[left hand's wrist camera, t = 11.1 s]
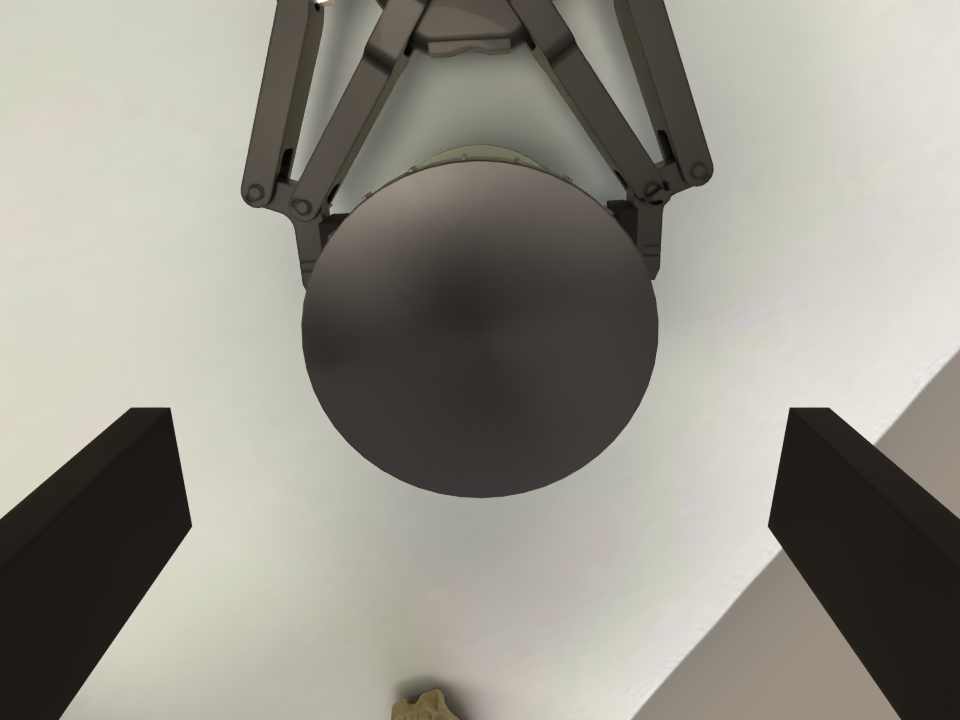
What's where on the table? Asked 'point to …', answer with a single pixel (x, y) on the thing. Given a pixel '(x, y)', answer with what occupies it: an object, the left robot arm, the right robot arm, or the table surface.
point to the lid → (480, 327)
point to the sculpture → (423, 708)
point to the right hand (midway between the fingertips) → (484, 356)
